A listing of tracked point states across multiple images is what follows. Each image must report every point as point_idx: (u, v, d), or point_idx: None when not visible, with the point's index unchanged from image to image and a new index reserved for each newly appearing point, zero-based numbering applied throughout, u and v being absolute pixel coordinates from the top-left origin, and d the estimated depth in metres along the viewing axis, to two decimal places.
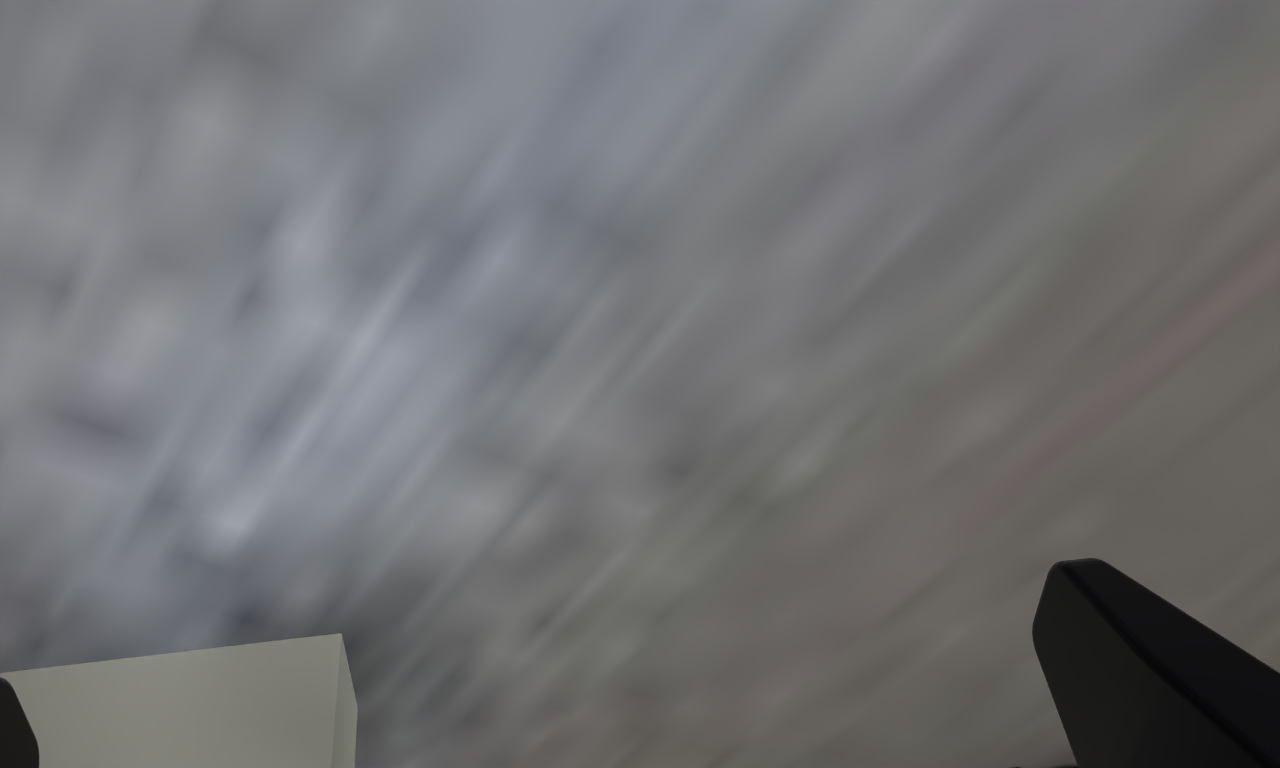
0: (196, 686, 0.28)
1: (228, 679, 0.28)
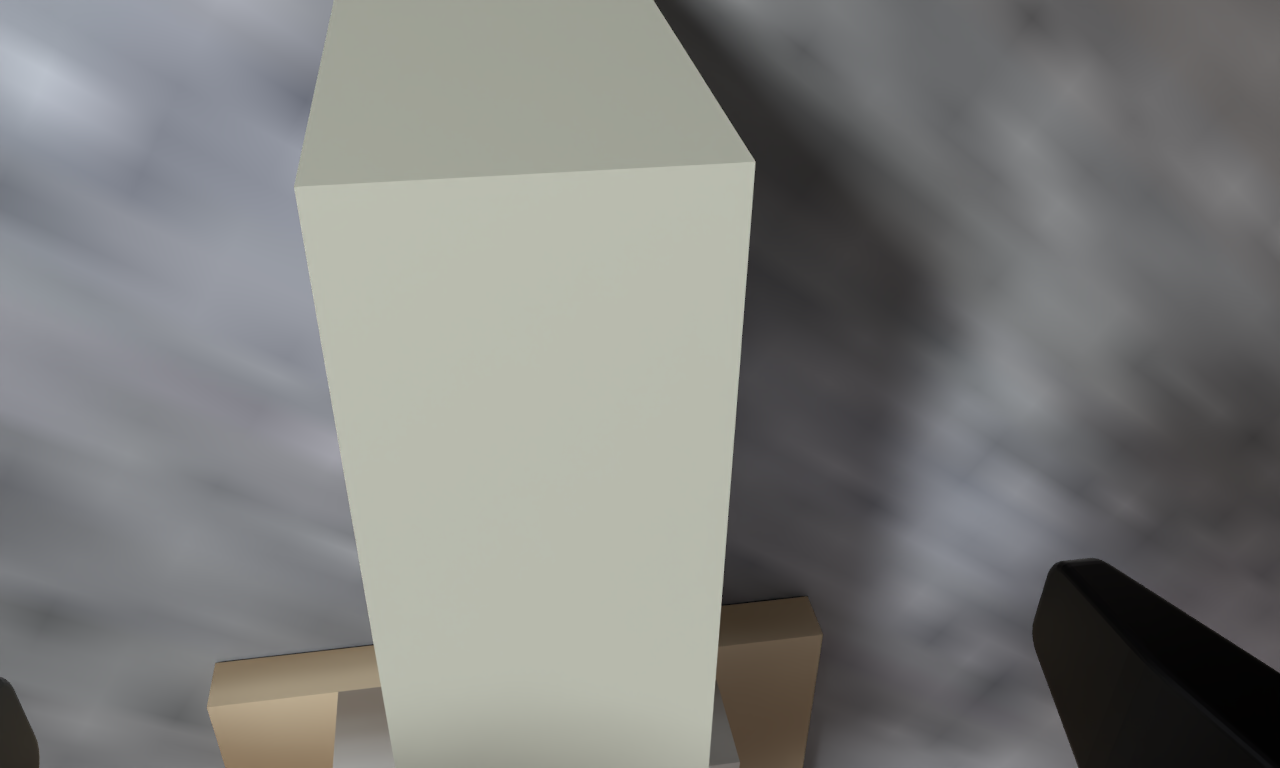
0: None
1: None
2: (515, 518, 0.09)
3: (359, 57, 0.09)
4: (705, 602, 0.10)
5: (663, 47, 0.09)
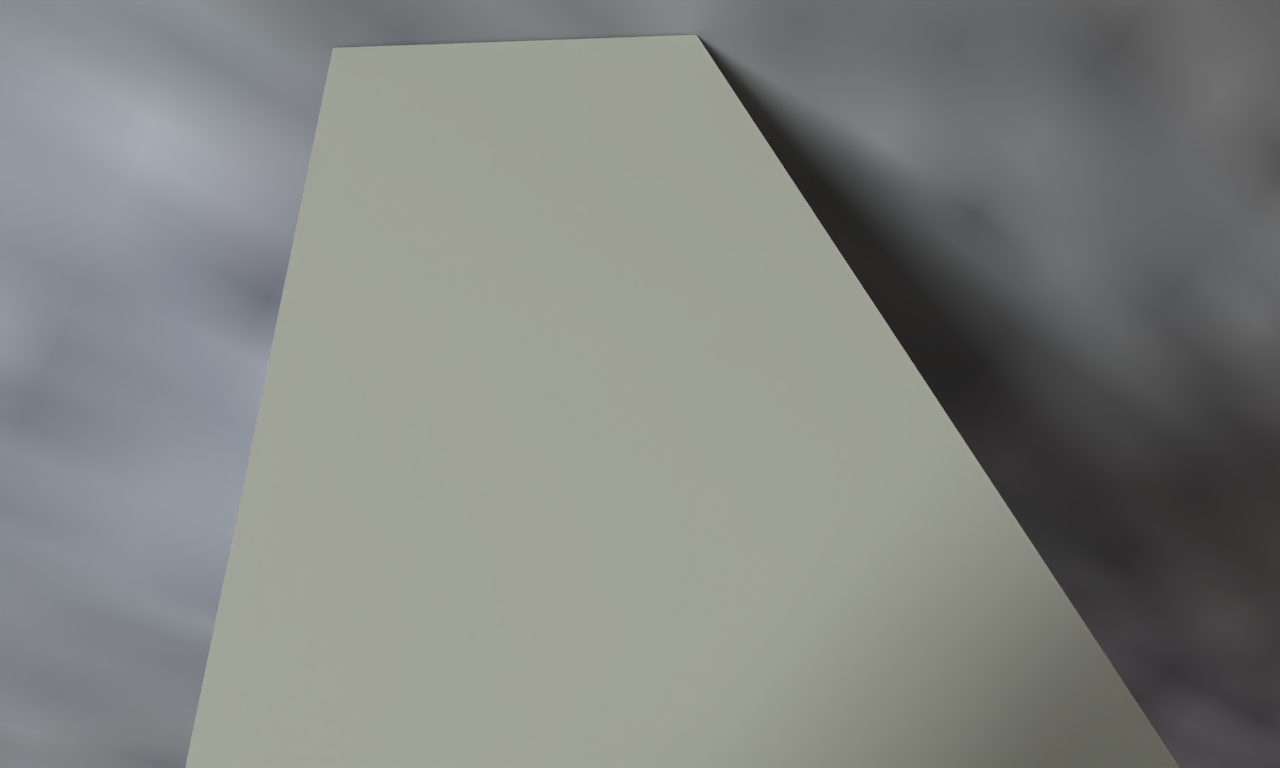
0: None
1: None
2: None
3: (319, 464, 0.05)
4: None
5: (911, 418, 0.05)
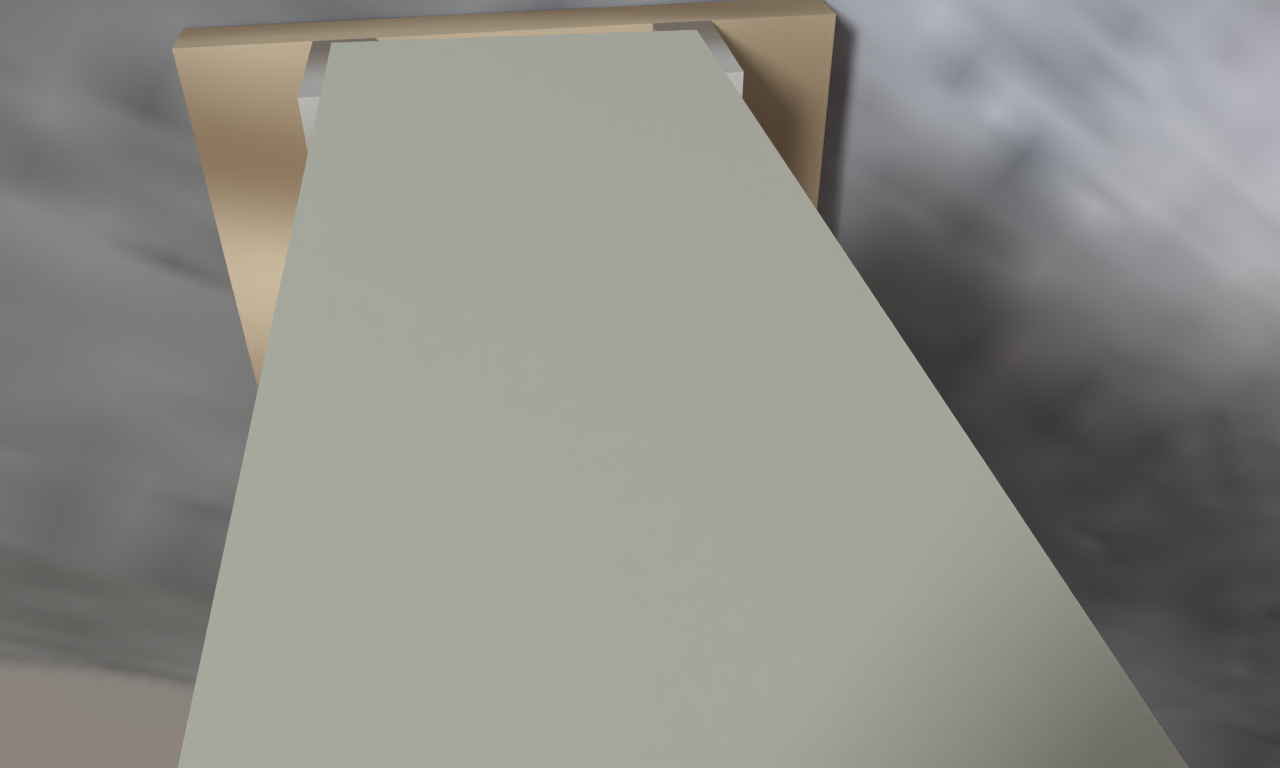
0: None
1: None
2: None
3: (316, 457, 0.05)
4: None
5: (912, 412, 0.05)
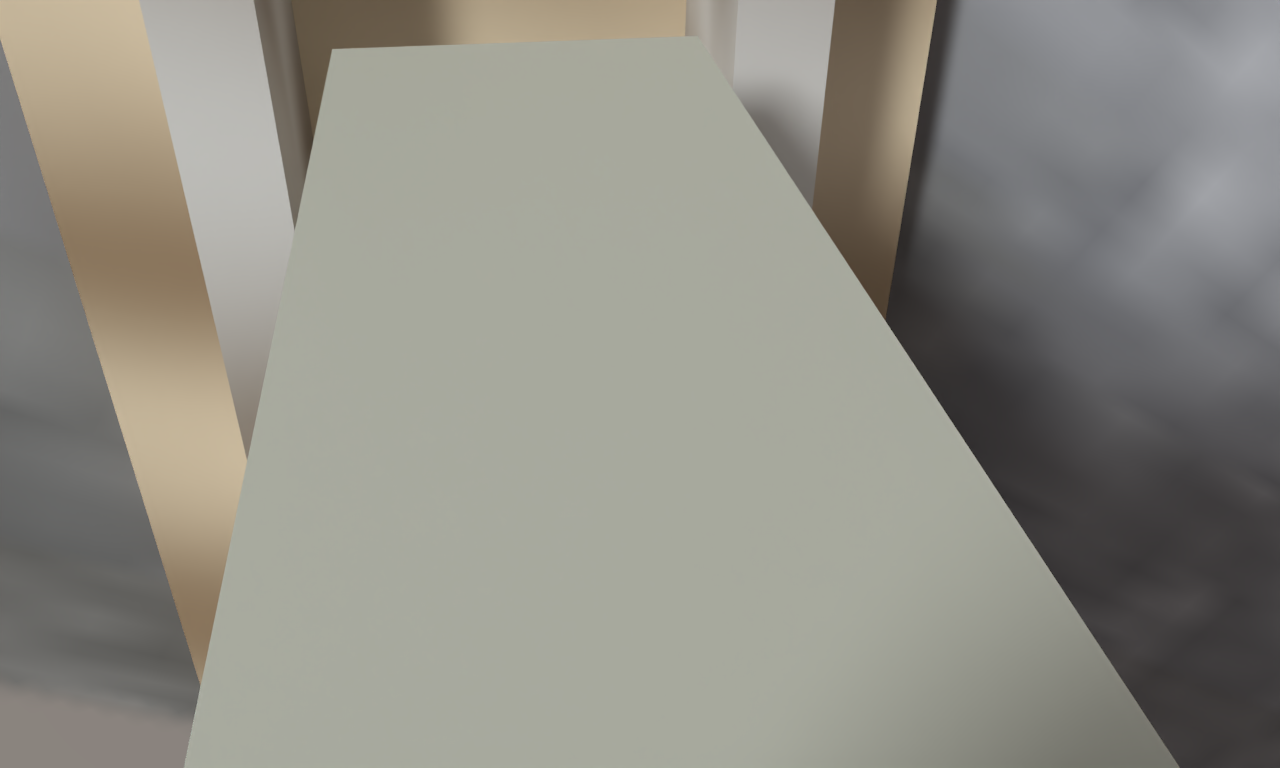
0: None
1: None
2: None
3: (319, 469, 0.05)
4: None
5: (914, 424, 0.05)
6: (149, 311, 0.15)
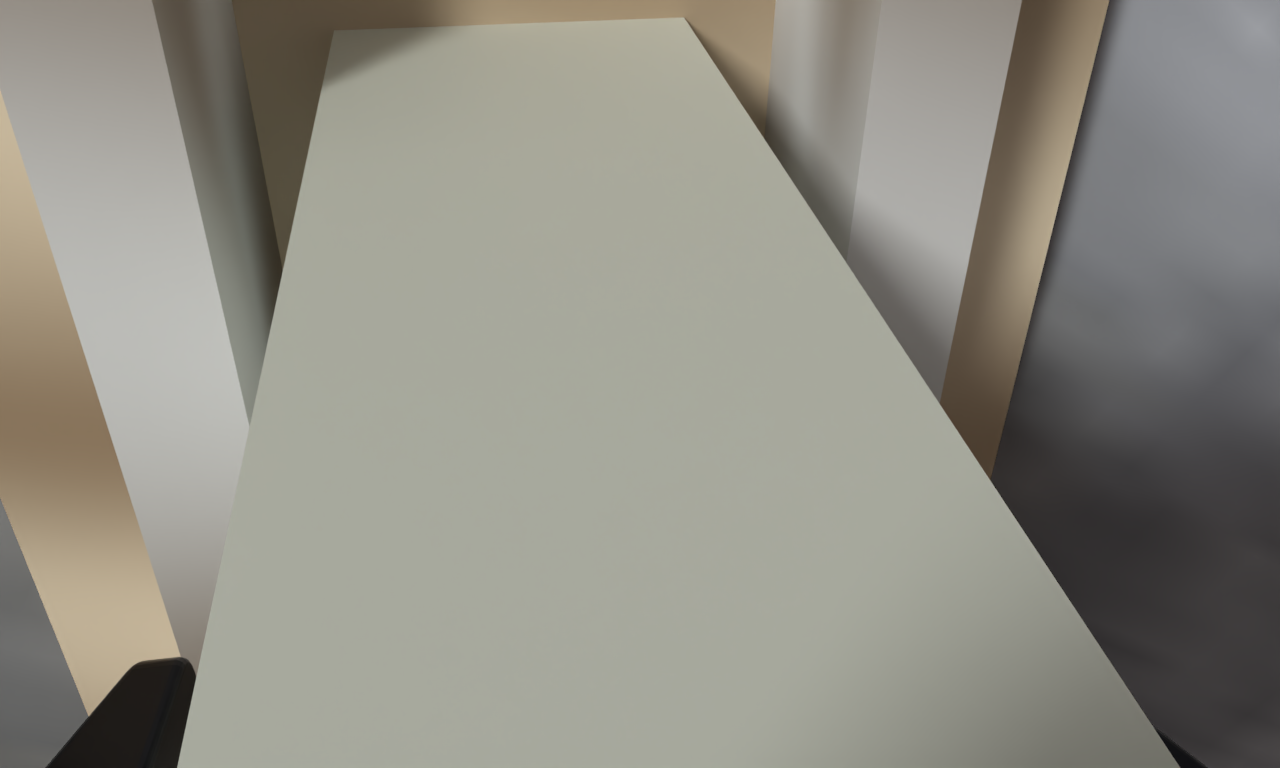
0: None
1: None
2: None
3: (325, 397, 0.05)
4: None
5: (873, 358, 0.05)
6: (79, 486, 0.11)
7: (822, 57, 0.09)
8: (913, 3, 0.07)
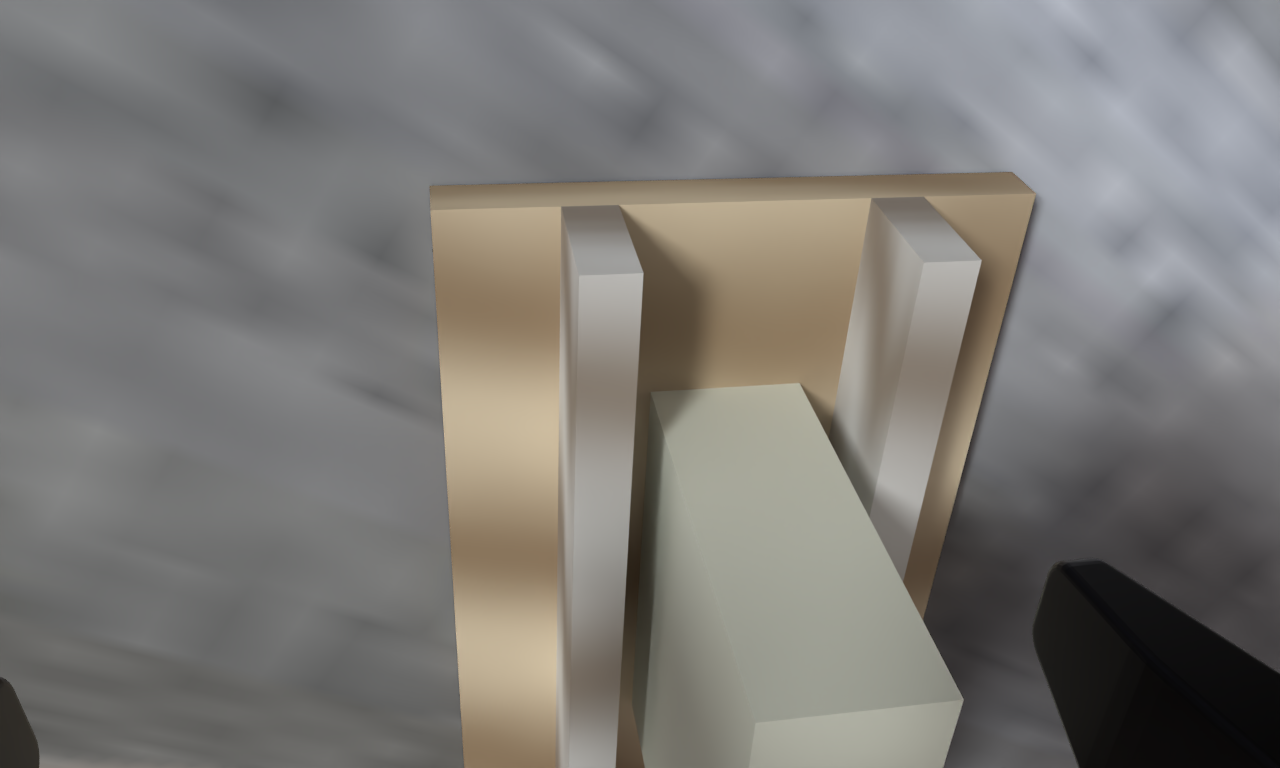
0: (652, 569, 0.22)
1: (654, 537, 0.22)
2: None
3: (732, 589, 0.17)
4: None
5: (889, 577, 0.17)
6: (490, 579, 0.24)
7: (863, 419, 0.21)
8: (902, 421, 0.20)
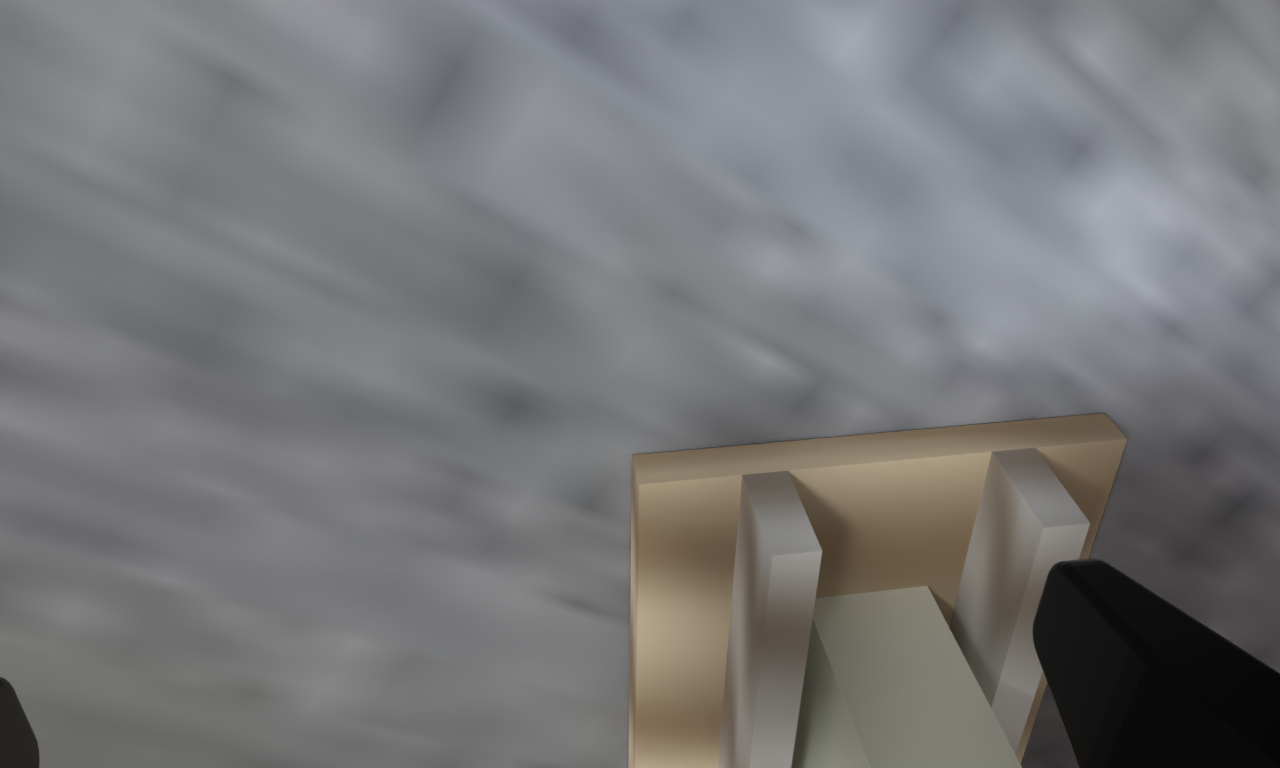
0: (806, 739, 0.27)
1: (808, 715, 0.27)
2: None
3: None
4: None
5: None
6: (665, 742, 0.28)
7: (985, 623, 0.25)
8: (1021, 637, 0.24)
